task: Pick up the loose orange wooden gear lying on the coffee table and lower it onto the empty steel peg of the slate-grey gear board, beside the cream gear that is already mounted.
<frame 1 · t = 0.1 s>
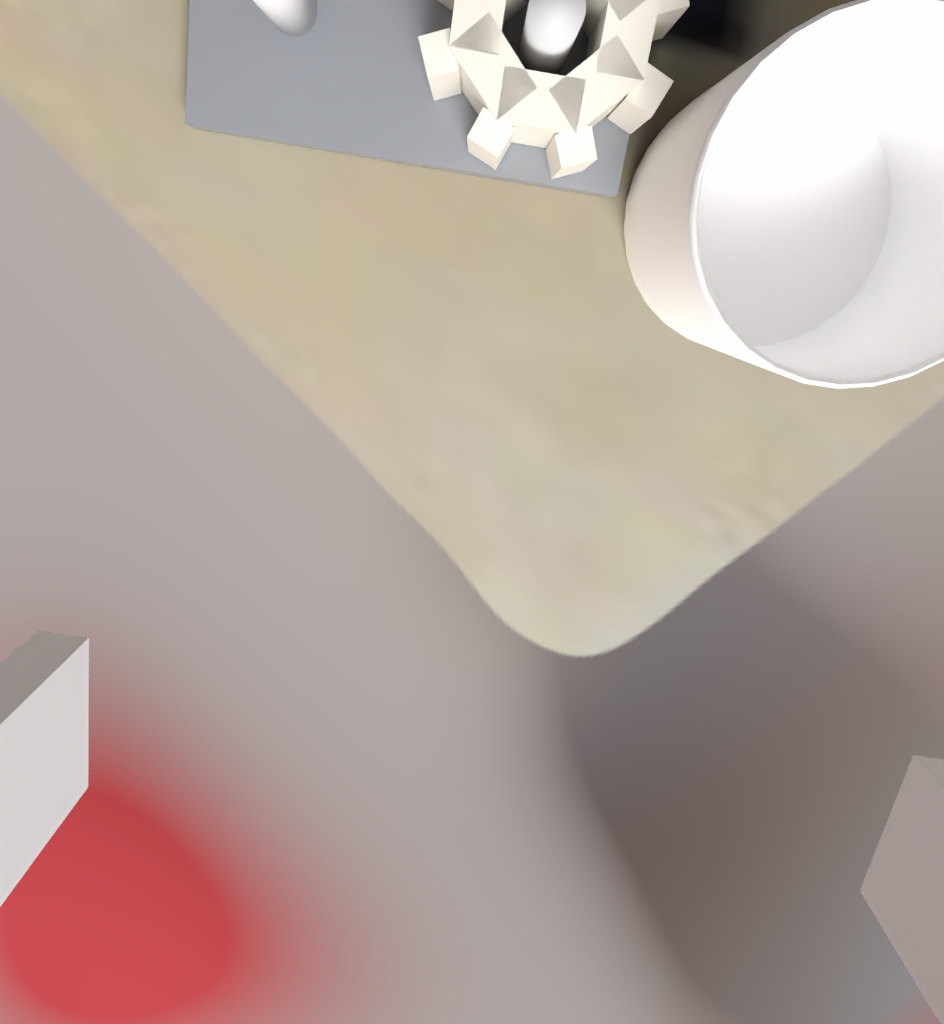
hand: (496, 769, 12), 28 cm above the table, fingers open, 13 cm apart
gear board: (424, 14, 33), on the table
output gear: (548, 35, 30), point 4 cm above the table, hinge at 0.0°
cup: (747, 221, 36), on the table
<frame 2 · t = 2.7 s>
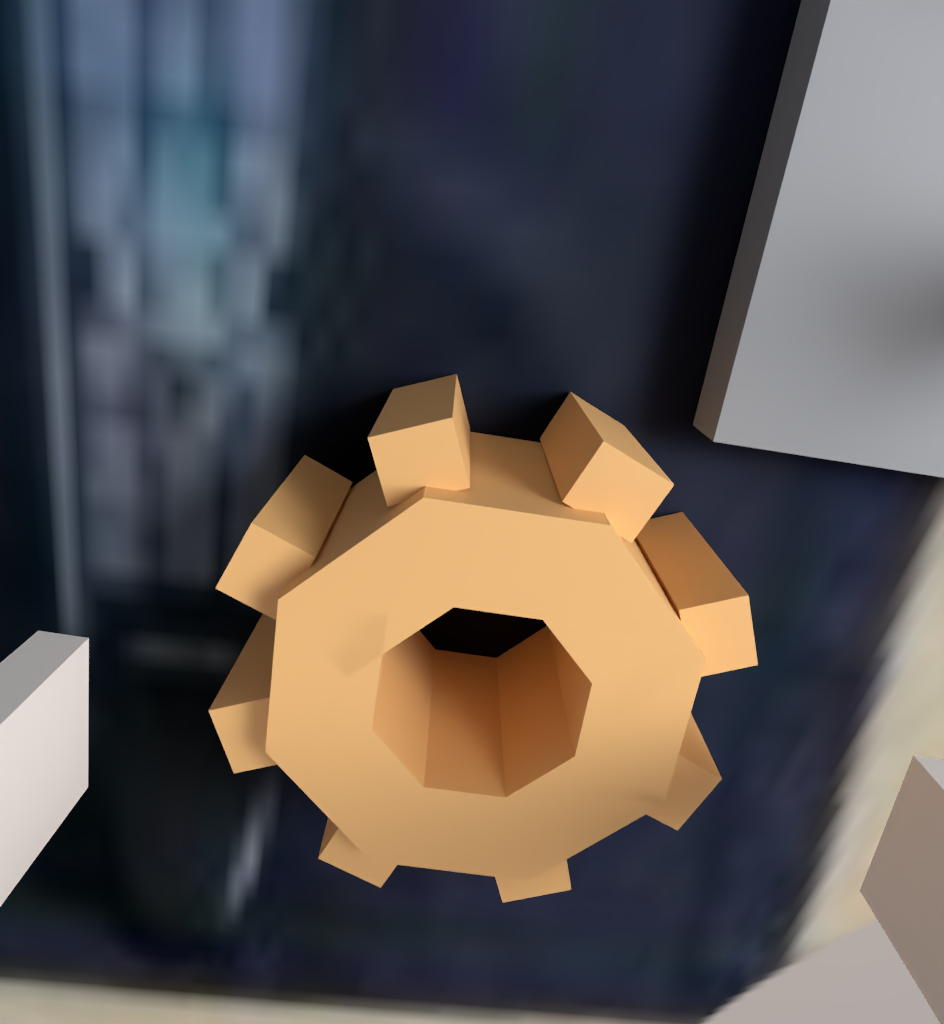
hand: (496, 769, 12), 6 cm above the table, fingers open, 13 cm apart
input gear: (477, 586, 18), on the table
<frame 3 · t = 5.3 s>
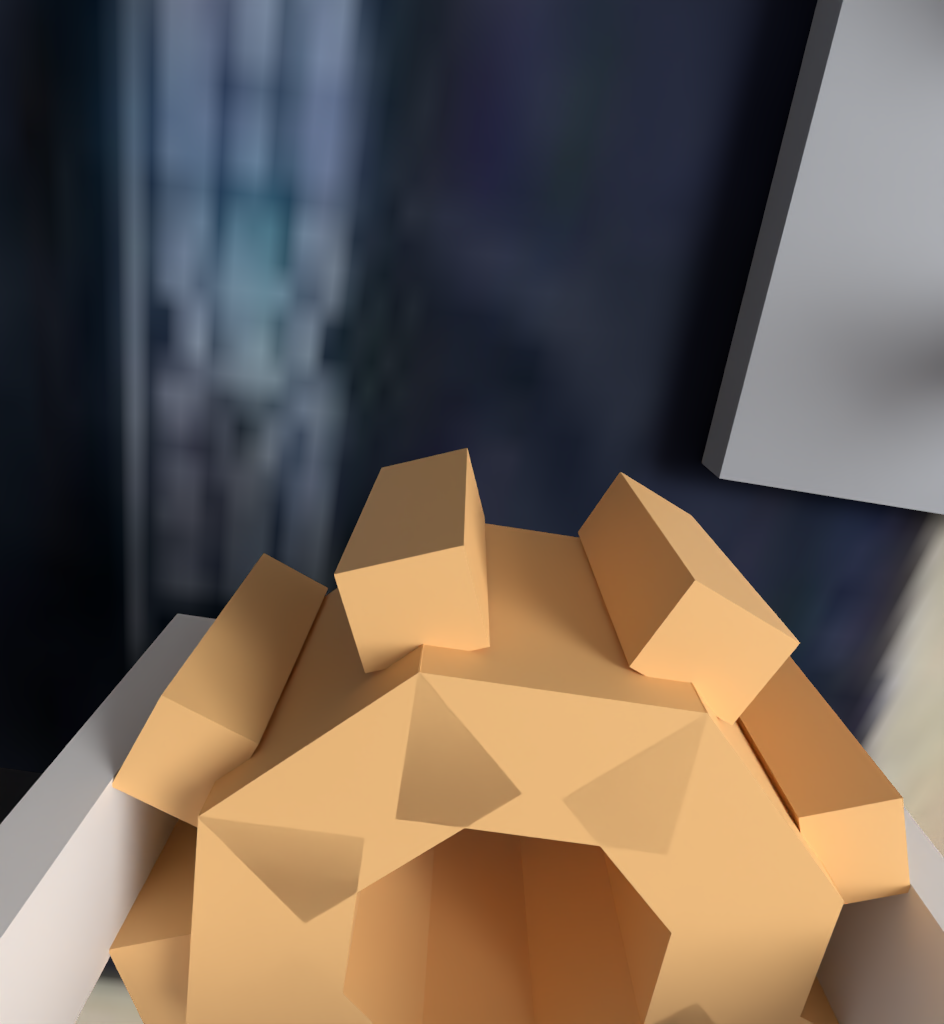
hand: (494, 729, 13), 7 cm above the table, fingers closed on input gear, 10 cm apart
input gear: (493, 720, 14), point 6 cm above the table, touching gripper
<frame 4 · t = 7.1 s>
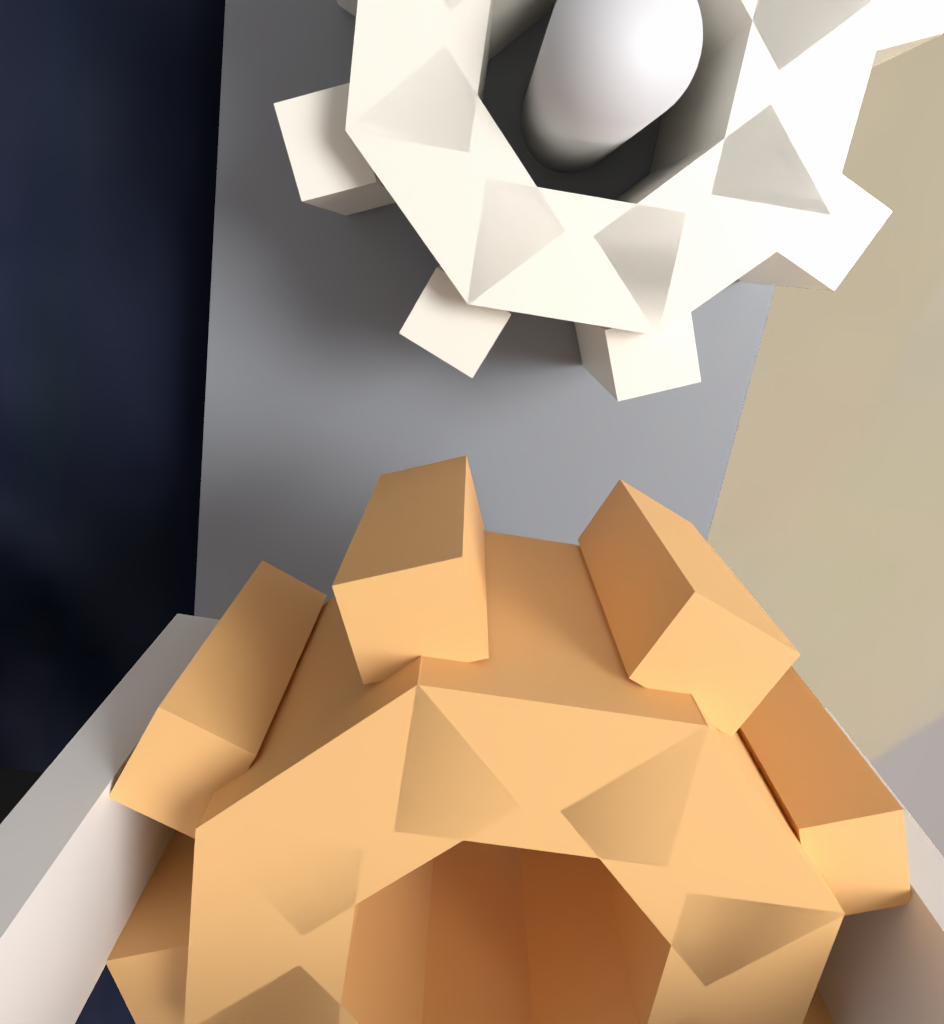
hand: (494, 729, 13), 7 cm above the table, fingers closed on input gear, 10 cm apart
gear board: (479, 361, 19), on the table
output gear: (587, 93, 13), point 4 cm above the table, hinge at 0.0°
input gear: (493, 727, 14), point 7 cm above the table, touching gripper
when the fingers open (2 cm above the table, at t = 9.2 s): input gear stays where it is, resting on gear board.
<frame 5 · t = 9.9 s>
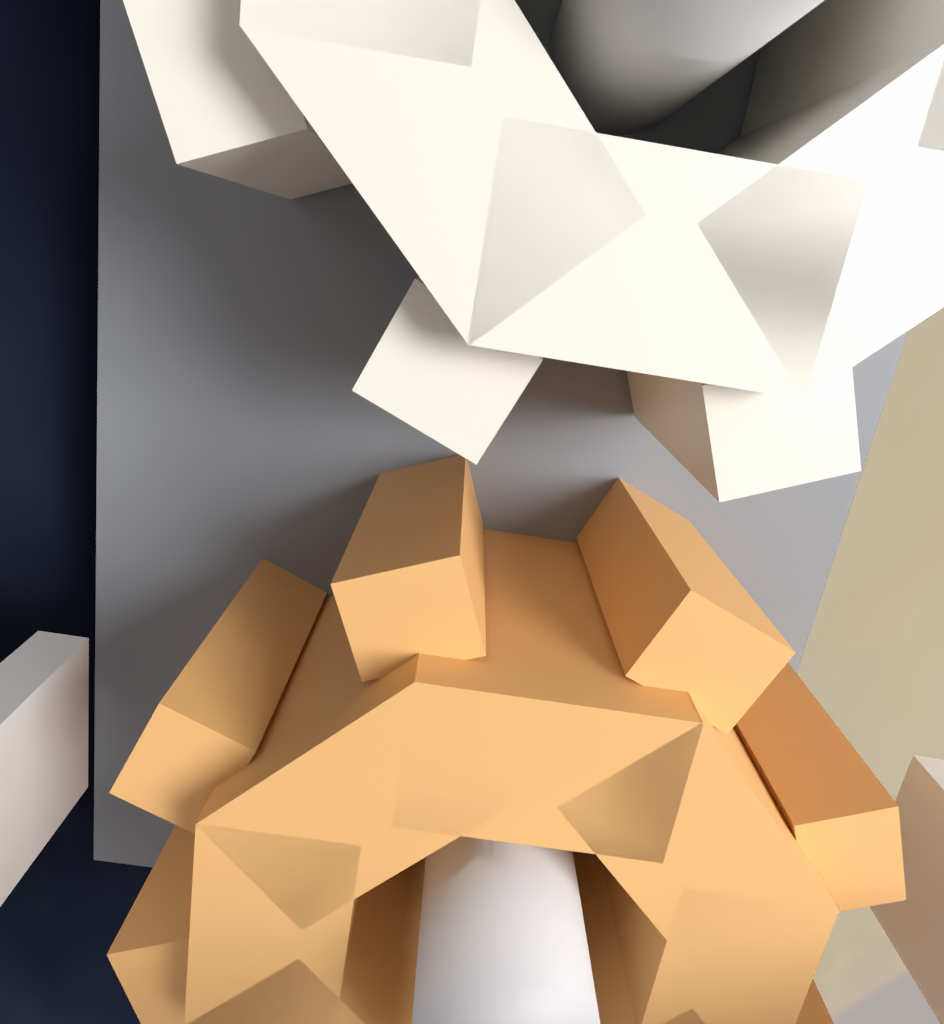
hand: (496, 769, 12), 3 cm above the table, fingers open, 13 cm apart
gear board: (485, 404, 14), on the table
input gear: (492, 724, 14), point 1 cm above the table, touching gear board
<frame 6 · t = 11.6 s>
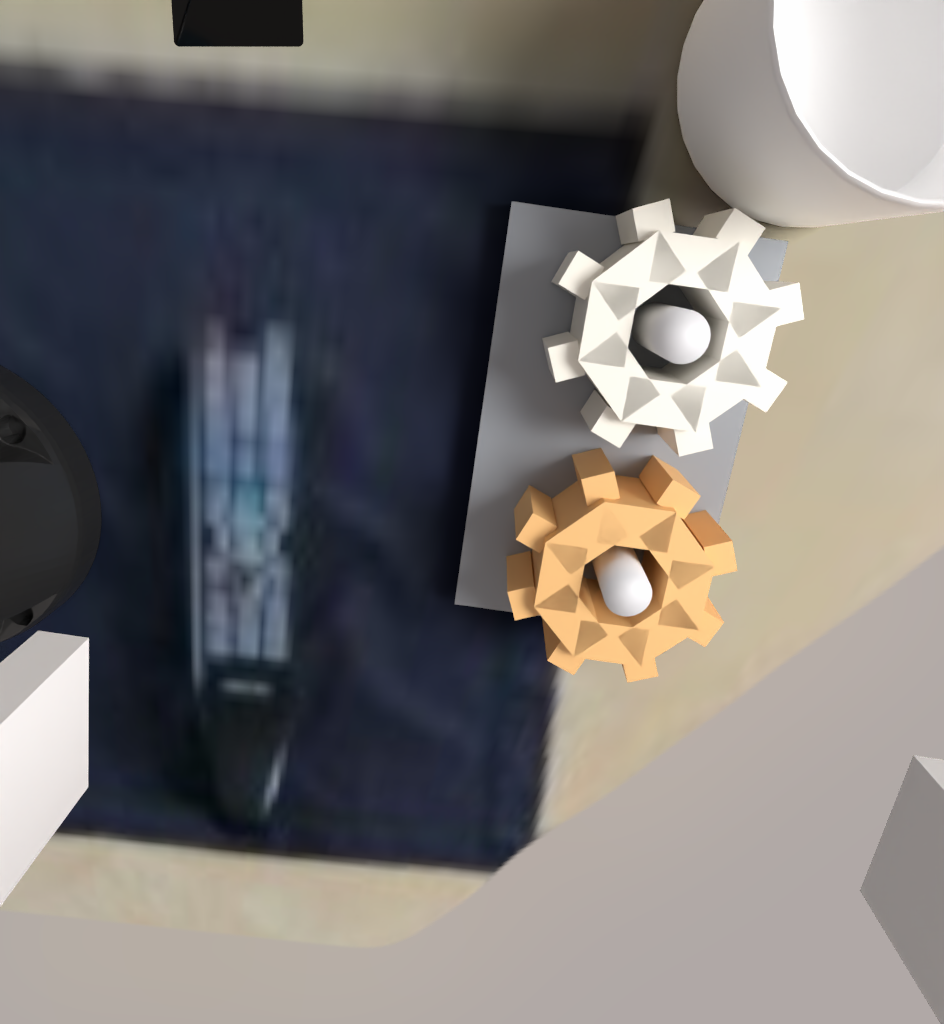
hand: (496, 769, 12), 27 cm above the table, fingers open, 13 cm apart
gear board: (604, 430, 38), on the table
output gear: (664, 329, 32), point 4 cm above the table, hinge at 0.0°
cup: (813, 82, 33), on the table
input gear: (607, 546, 38), point 1 cm above the table, touching gear board
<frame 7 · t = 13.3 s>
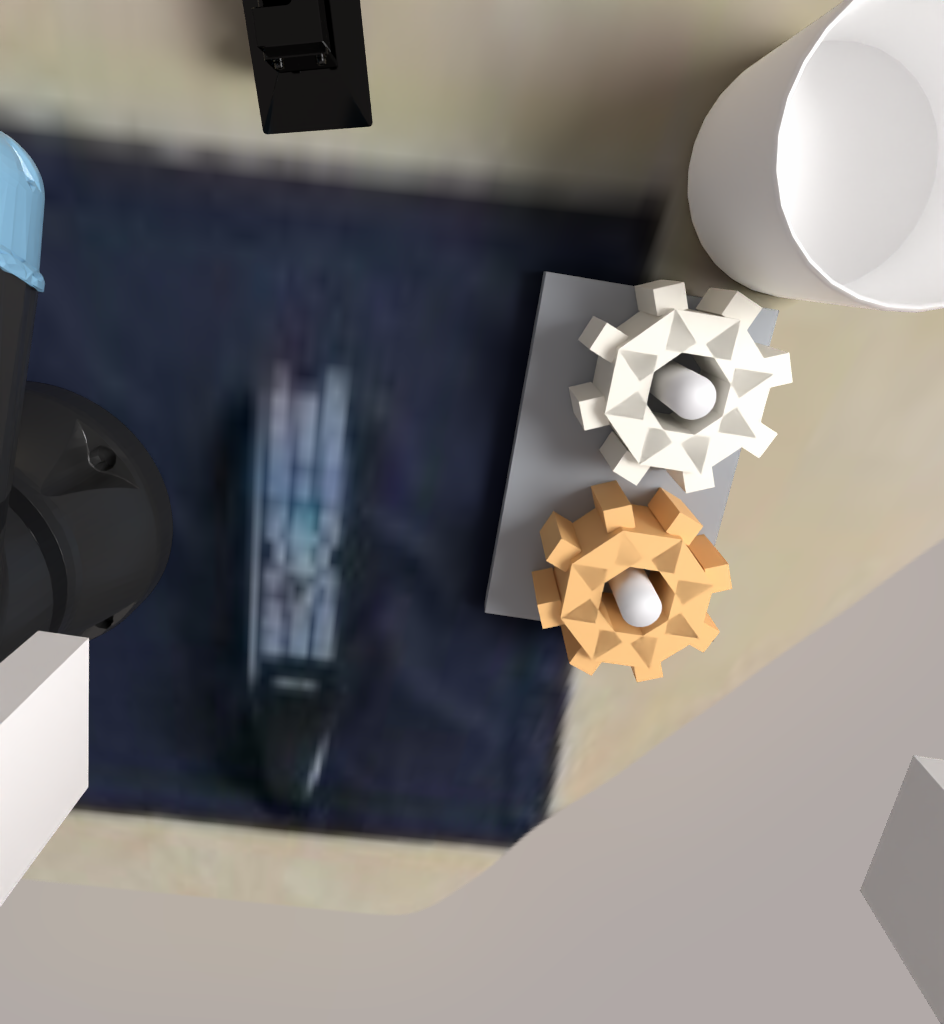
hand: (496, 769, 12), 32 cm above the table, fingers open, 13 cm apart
gear board: (617, 464, 43), on the table
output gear: (675, 385, 38), point 4 cm above the table, hinge at 0.0°
cup: (802, 176, 39), on the table
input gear: (619, 564, 44), point 1 cm above the table, touching gear board
black boxy piece: (306, 27, 38), on the table
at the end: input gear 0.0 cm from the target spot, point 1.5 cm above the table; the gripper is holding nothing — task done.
